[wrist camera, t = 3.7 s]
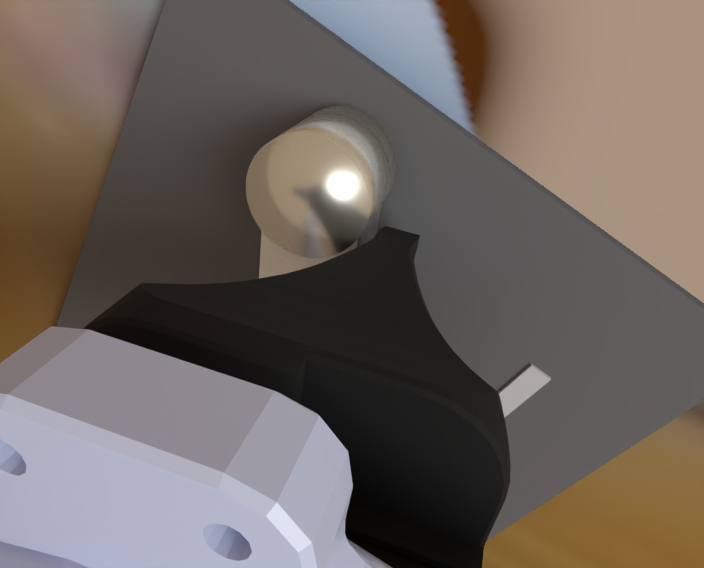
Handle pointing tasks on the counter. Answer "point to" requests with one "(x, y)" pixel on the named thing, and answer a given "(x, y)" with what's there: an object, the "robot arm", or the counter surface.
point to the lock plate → (404, 214)
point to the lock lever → (320, 188)
